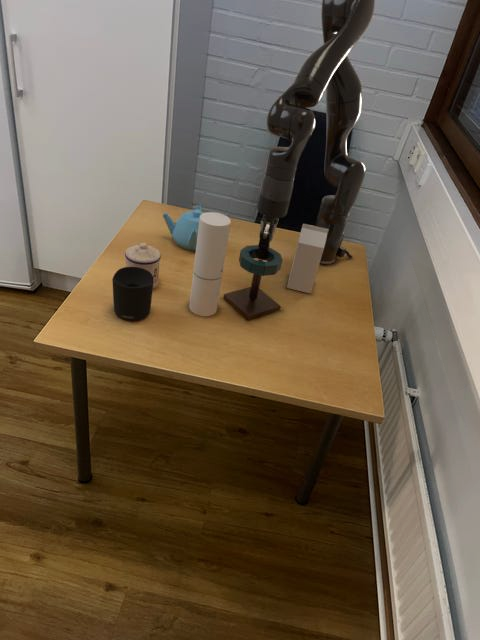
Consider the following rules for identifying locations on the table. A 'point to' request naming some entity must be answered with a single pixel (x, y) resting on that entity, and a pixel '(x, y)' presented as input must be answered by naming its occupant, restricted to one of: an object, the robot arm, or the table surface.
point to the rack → (252, 300)
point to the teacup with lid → (144, 259)
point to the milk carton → (307, 258)
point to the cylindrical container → (209, 263)
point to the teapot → (185, 228)
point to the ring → (259, 266)
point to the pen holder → (132, 293)
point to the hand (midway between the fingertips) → (262, 256)
